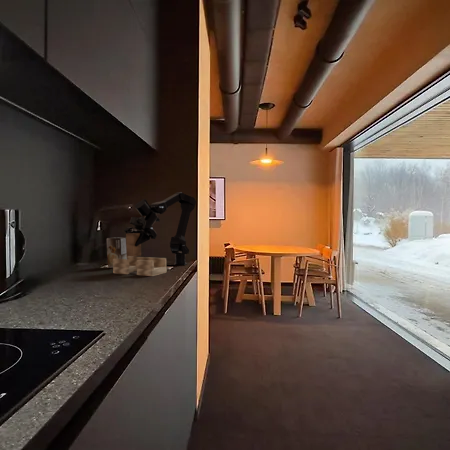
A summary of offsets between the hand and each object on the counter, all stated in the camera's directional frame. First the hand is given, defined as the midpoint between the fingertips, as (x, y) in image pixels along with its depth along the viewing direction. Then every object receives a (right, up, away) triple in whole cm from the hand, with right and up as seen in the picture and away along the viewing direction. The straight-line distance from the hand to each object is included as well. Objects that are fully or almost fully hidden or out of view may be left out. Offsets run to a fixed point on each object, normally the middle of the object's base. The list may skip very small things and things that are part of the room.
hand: (131, 245), depth 193 cm
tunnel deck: (+4, -13, +1) cm, 14 cm away
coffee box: (-13, -13, +22) cm, 29 cm away
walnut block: (+1, -5, +1) cm, 5 cm away
